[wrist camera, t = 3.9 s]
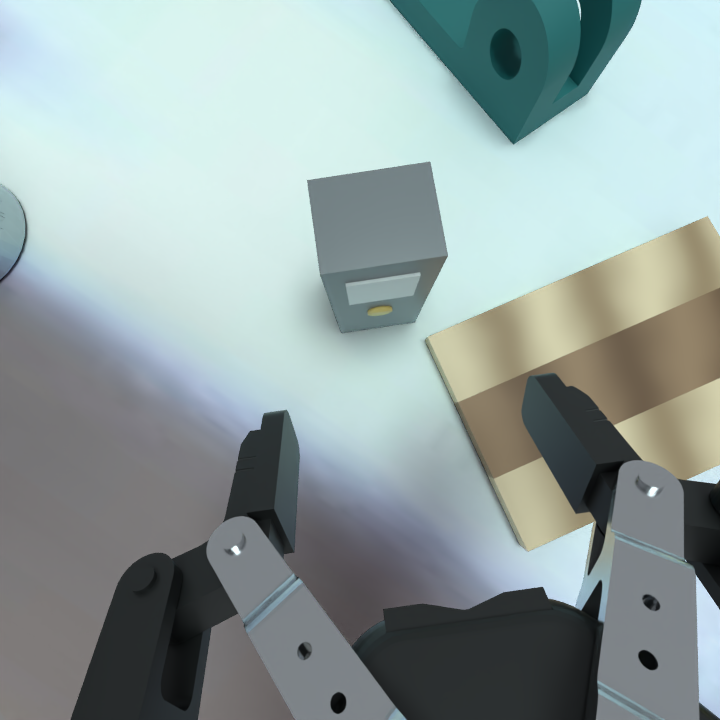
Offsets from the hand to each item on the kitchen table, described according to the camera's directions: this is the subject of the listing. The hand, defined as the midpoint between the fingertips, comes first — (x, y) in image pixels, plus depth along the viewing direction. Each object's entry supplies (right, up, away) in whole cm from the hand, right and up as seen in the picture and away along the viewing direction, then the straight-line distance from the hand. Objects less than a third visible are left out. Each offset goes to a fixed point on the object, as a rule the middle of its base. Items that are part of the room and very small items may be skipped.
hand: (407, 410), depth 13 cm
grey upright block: (-1, +6, +13) cm, 14 cm away
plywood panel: (+15, +1, +12) cm, 19 cm away
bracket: (+7, +26, +16) cm, 32 cm away
